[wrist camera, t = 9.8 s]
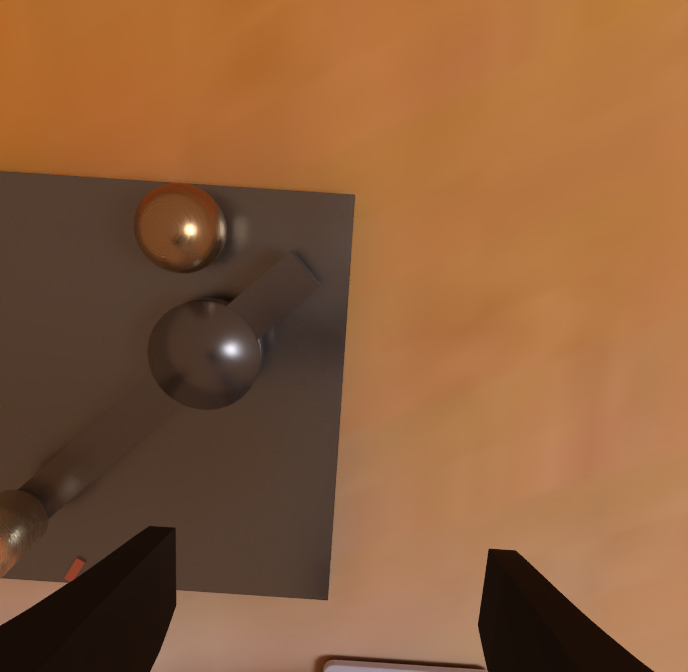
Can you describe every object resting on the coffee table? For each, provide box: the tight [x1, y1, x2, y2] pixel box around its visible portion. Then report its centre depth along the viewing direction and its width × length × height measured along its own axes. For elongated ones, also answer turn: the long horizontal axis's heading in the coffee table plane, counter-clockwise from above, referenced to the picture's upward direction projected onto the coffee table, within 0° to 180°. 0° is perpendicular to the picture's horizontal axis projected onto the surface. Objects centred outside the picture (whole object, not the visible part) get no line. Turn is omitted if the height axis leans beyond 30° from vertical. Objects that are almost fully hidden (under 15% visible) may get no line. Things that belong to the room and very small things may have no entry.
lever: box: [0, 250, 321, 579], centre depth 17 cm, size 16×4×4 cm, turn 130°
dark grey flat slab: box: [0, 171, 355, 600], centre depth 19 cm, size 17×17×4 cm
